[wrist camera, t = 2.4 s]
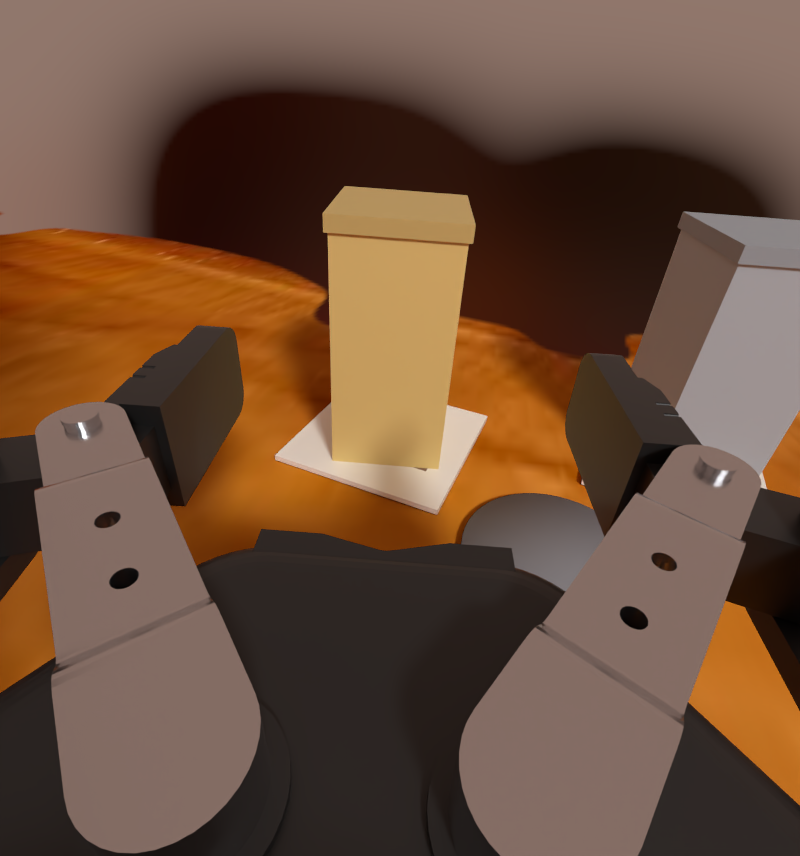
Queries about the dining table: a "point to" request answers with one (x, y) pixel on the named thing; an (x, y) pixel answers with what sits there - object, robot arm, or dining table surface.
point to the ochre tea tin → (393, 320)
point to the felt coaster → (538, 534)
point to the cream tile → (386, 480)
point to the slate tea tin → (729, 332)
